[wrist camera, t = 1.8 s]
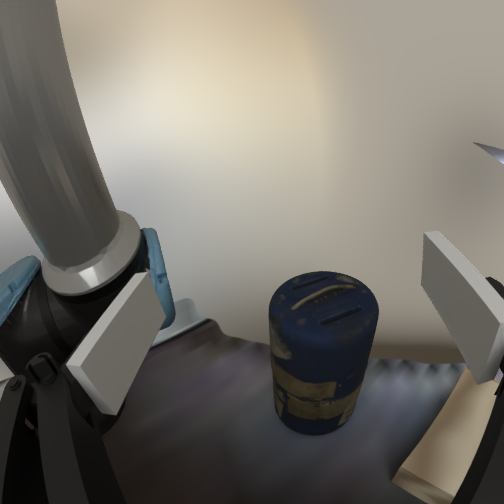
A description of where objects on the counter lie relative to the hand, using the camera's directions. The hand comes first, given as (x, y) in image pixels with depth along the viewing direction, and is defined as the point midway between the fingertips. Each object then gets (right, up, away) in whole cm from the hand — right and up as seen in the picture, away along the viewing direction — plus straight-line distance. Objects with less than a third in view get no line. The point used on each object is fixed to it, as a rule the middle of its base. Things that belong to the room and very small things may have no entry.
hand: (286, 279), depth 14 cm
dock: (+23, -21, +6) cm, 32 cm away
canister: (+6, -17, +19) cm, 27 cm away
